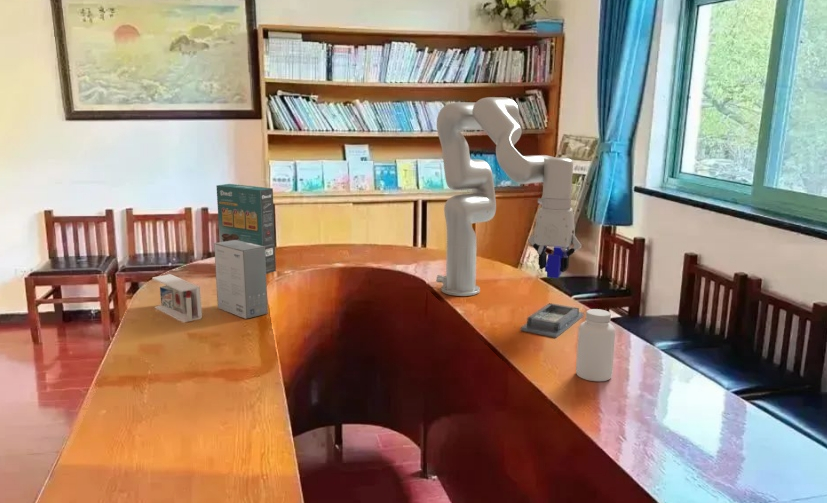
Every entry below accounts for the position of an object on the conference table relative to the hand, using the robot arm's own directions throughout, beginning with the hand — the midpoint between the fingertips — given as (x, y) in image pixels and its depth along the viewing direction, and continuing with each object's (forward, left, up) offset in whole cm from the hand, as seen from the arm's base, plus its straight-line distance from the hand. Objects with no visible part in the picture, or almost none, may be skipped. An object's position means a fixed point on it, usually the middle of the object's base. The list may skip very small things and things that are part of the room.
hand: (553, 268), depth 185 cm
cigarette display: (-93, -51, -16) cm, 107 cm away
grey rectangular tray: (+1, +1, -16) cm, 16 cm away
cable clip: (0, 0, -1) cm, 1 cm away
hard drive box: (-79, -40, -16) cm, 90 cm away
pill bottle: (+22, -29, -16) cm, 40 cm away
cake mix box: (-115, -2, -16) cm, 116 cm away
